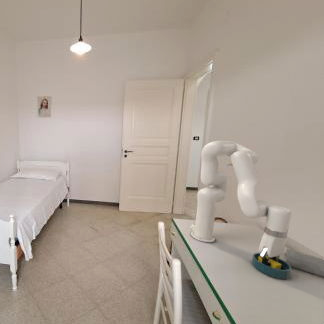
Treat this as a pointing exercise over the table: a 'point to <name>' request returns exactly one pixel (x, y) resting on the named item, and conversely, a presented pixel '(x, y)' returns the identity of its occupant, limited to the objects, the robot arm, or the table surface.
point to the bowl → (270, 271)
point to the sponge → (272, 263)
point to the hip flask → (305, 262)
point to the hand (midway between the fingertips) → (268, 267)
